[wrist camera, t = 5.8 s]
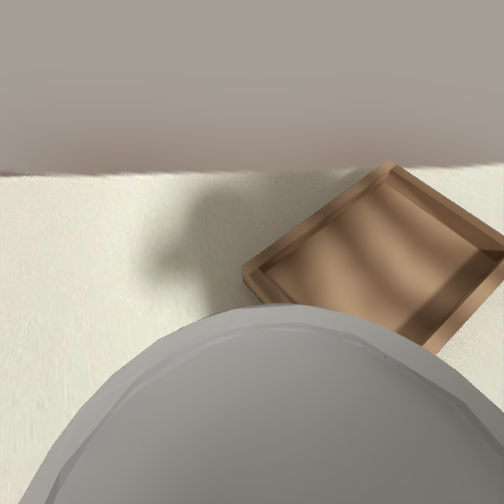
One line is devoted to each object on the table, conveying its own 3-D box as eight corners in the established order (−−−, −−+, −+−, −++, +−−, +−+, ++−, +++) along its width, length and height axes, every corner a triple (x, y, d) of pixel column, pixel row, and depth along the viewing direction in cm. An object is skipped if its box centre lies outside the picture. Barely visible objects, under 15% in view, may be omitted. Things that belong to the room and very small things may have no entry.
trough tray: (379, 179, 36) (389, 159, 33) (505, 268, 30) (528, 252, 27) (243, 281, 30) (241, 266, 27) (366, 418, 24) (378, 417, 21)
